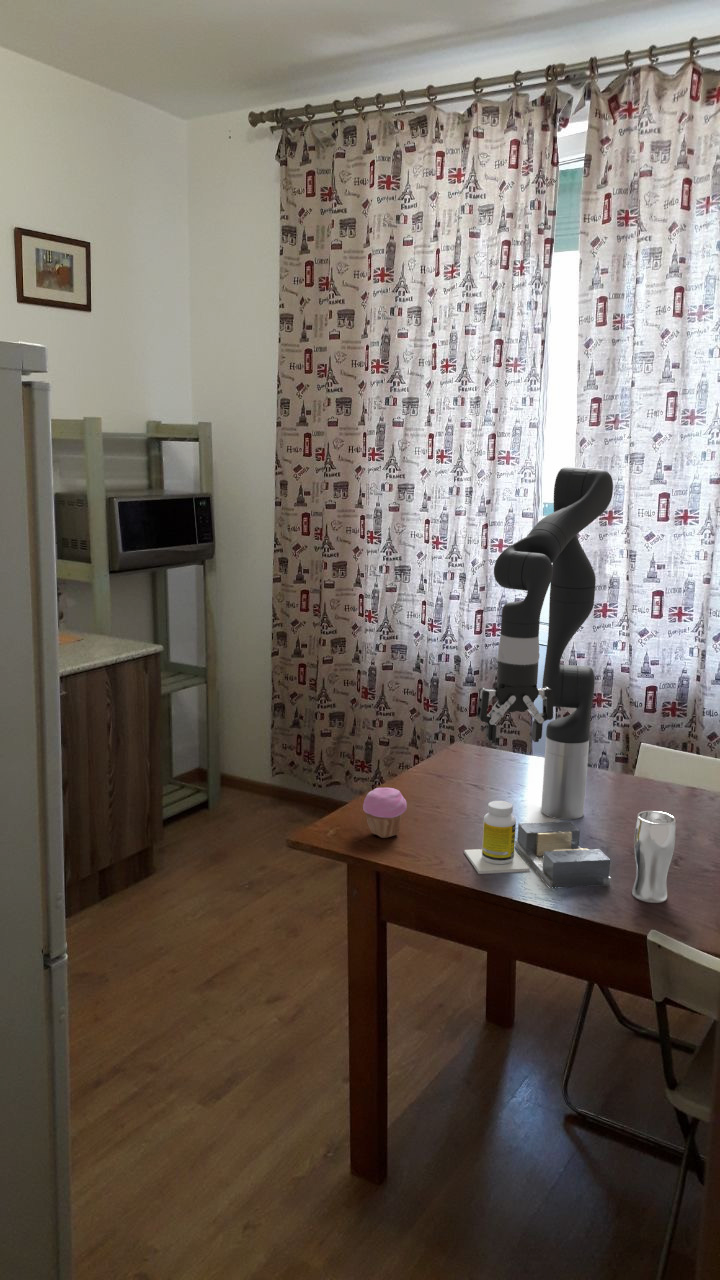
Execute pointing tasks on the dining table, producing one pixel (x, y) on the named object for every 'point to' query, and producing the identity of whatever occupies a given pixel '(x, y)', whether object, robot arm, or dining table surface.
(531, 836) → the bench vise
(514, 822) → the pill bottle
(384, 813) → the cupcake
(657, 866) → the beer glass
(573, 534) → the robot arm
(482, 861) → the placing pad
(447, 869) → the dining table surface
